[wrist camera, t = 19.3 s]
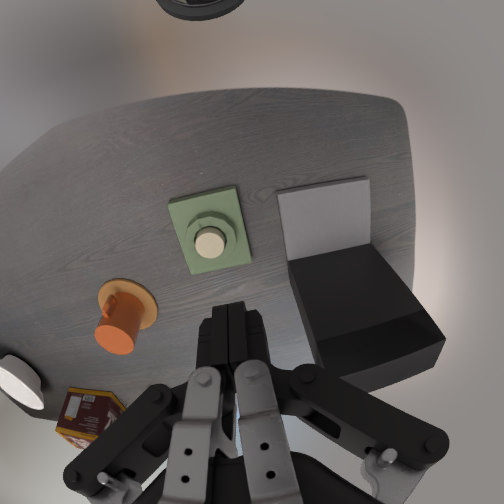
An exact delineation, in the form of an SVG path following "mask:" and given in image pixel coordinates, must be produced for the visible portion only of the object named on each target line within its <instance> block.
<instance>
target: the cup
mask: <svg viewBox="0 0 504 504" xmlns="http://www.w3.org/2000/svg"><path fill="white" fill-rule="evenodd" d="M144 313H145V309H144V306H143V304H142V302H141V301H140V300H139V299H138V298H137V297H135V296H134V295H132V294H130V293H126V292H118V293H115V294H114V295H113V294H110V295H109V296H108V298H107V300H106V302H105V304H104V306H103V308H102V314H103V315H102V317H101V319H100V321H99V323H98V326H97V328H96V330H95V338H96V340H97V342H98V343H99V344H100V345H101V346H102V347H103V348H104V349H106V350H107V351H109V352H112V353H114V354H119V355H125V354H129V353H130V352H132V351H133V349H134V346H135V342H136V339H137V336H138V332H139V329H140V326H141V323H142V320H143V317H144Z"/></svg>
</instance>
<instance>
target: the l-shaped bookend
mask: <svg viewBox="0 0 504 504" xmlns="http://www.w3.org/2000/svg"><path fill="white" fill-rule="evenodd" d="M276 195H277V201H278V207H279V213H280V219H281V225H282V232H283V238H284V244H285V251H286V258H287V264H288V271H289V278H290V284H291V287H292V290H293V293H294V296H295V299H296V303H297V306H298V309H299V312H300V315H301V319H302V322H303V325H304V328H305V332H306V335H307V338H308V341H309V345H310V348H311V351H312V355H313V358H314V361H315V365H318V366H320V367H321V368H323V369H325V370H327V371H328V372H330V373H332V374H334V375H335V376H337V377H339V378H341V379H342V380H344V381H346V382H348V383H350V384H352V385H353V386H355V387H357V388H359V389H361V390H363V391H364V392H366V393H369V392H372V391H375V390H378V389H381V388H384V387H386V386H389V385H392V384H394V383H397V382H400V381H402V380H404V379H407V378H410V377H412V376H414V375H417V374H419V373H421V372H424V371H426V370H428V369H430V368H433V367H434V365H435V363H436V361H437V359H438V357H439V354H440V352H441V350H442V348H443V345H444V343H445V341H446V338H445V336H444V335H443V333H442V332H441V331H440V329H439V328H438V326H437V325H436V324H435V322H434V321H433V319H432V318H431V317H430V315H429V314H428V313H427V311H426V310H425V309H424V308H423V306H422V305H421V304H420V302H419V301H418V300H417V298H416V297H415V296H414V294H413V293H412V292H411V291H410V289H409V288H408V287H407V286H406V284H405V283H404V282H403V281H402V279H401V278H400V277H399V276H398V275H397V273H396V272H395V271H394V270H393V269H392V267H391V266H390V265H389V264H388V263H387V262H386V260H385V259H384V258H383V257H382V256H381V255H380V253H379V252H378V251H377V250H376V249H375V248H374V247H373V245H372V244H371V243H370V229H371V213H370V180H369V179H368V178H366V177H359V178H352V179H345V180H339V181H333V182H326V183H320V184H315V185H309V186H303V187H297V188H292V189H287V190H281V191H276Z"/></svg>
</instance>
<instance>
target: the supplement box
mask: <svg viewBox="0 0 504 504" xmlns="http://www.w3.org/2000/svg"><path fill="white" fill-rule="evenodd" d="M125 410H126V408H125V407H124V406H123V405H122V404H121V403H120V401H119V400H118V399H117V398H116V397H115V396H114V394H113V393H112V392H106V391H96V390H87V389H79V388H71V387H70V388H69V390H68V393H67V396H66V399H65V402H64V405H63V407H62V411H61V413H60V416H59V420H58V423H57V426H56V429H55V431H56V432H57V433H58V434H59V435H61V436H62V437H63V438H65V439H66V440H67V441H68V442H70V443H71V444H72V445H74V446H75V447H77V448H80V449H85V448H87V447H88V446H89V445H90V444H91V443H92V442H93V441H94V440H95V439H96V438H97V437H98V436H99V435H100V434H101V433H102V432H103V431H104V430H105V429H106V428H108V427H109V426H110V425H111V424H112V423H113V422H114V421H115V420H116V419H117V418H118V417H119V416H120V415H121V414H122V413H123V412H124V411H125Z"/></svg>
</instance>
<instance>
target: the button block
mask: <svg viewBox="0 0 504 504" xmlns="http://www.w3.org/2000/svg"><path fill="white" fill-rule="evenodd" d="M167 206H168V209H169V212H170V216H171V219H172V222H173V225H174V228H175V231H176V234H177V236H178V239H179V242H180V245H181V248H182V251H183V254H184V256H185V259H186V262H187V265H188V268H189V270H190V273H191V275H193V274H198V273H203V272H208V271H213V270H218V269H223V268H228V267H233V266H238V265H243V264H248V263H252V257H251V252H250V248H249V243H248V239H247V235H246V230H245V226H244V221H243V217H242V212H241V208H240V204H239V199H238V195H237V190H236V186H235V185H232V186H228V187H223V188H219V189H214V190H210V191H206V192H202V193H197V194H193V195H189V196H185V197H181V198H177V199H174V200H170V201H169V202H168V204H167ZM206 227H214V228H217V229H219V230H220V231H221V232H222V233H223V235H224V239H225V242H224V250H223V252H222V253H221V254H220V255H219V256H218V257H216V258H205V257H202V256H201V255H200V254H199V253H198V252H197V250H196V248H195V242H196V238H197V235H198V233H199V232H200V231H201V230H202V229H204V228H206Z"/></svg>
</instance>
